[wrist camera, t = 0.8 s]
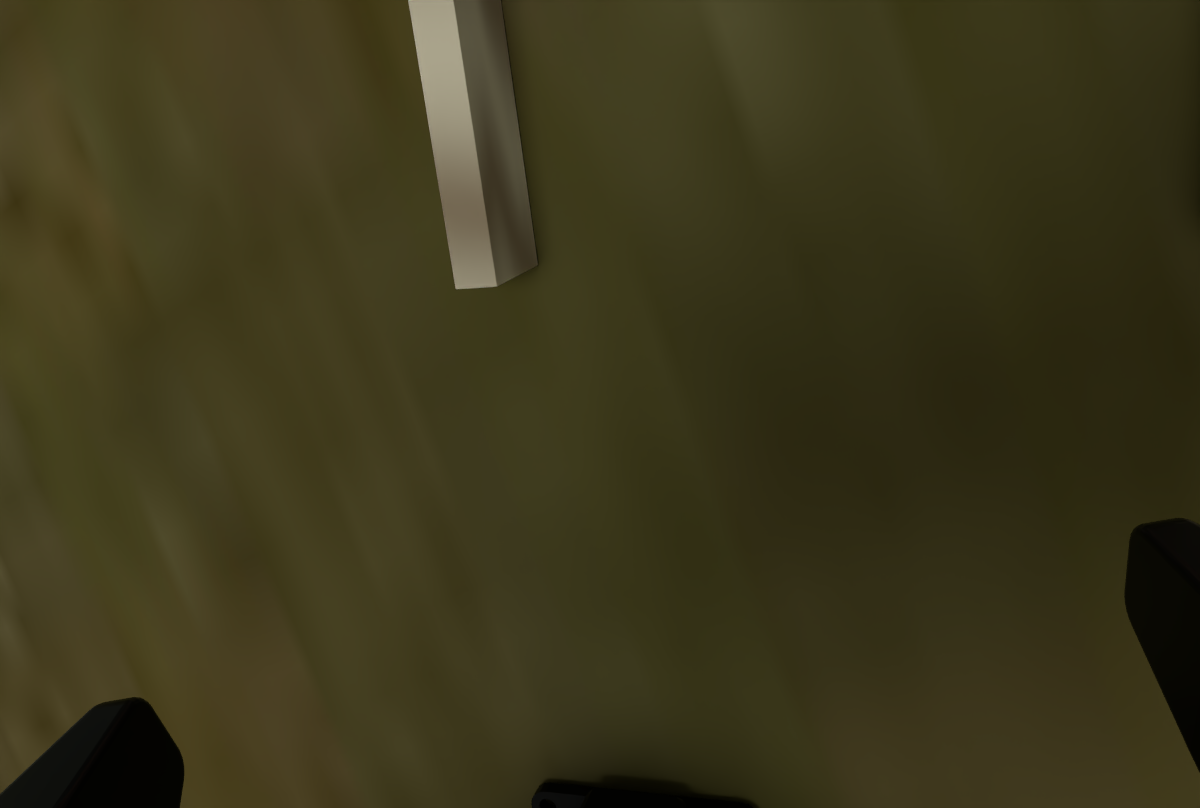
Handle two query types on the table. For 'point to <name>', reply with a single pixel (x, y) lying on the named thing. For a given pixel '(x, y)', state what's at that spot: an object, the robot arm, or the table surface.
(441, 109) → the trap lane
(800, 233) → the table surface
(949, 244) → the table surface
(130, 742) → the robot arm
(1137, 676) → the table surface
